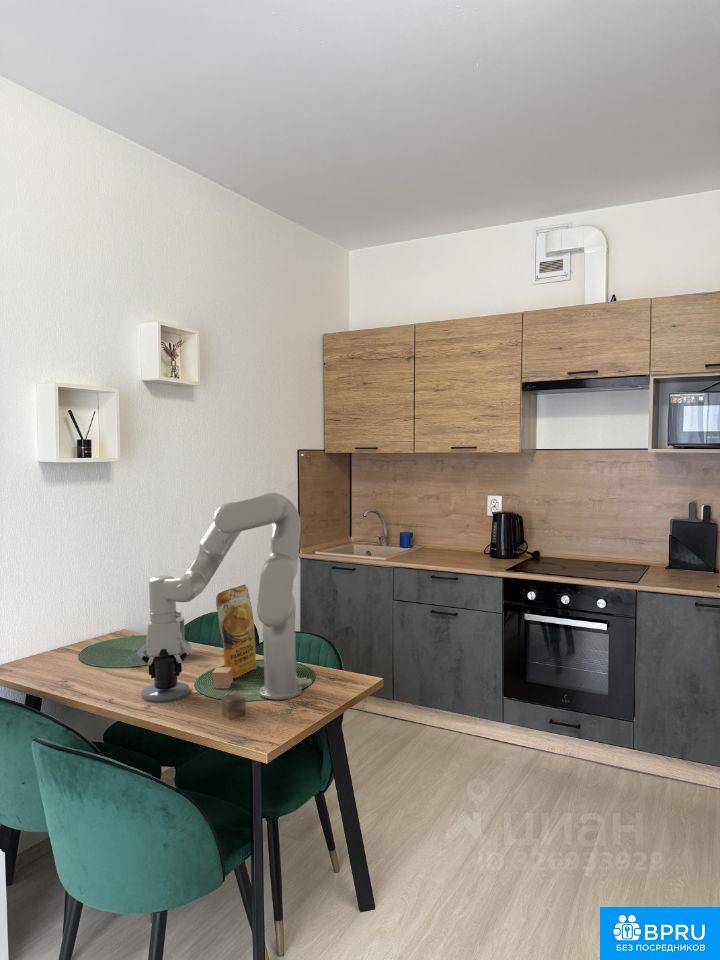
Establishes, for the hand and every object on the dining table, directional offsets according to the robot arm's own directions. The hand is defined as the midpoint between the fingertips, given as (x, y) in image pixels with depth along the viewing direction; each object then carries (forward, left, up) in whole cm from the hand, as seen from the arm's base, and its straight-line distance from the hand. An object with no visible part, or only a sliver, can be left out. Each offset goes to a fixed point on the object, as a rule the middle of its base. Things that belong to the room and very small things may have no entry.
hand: (165, 675), depth 205 cm
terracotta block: (-17, -3, -6) cm, 18 cm away
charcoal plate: (0, 0, -6) cm, 6 cm away
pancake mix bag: (-22, -14, -6) cm, 27 cm away
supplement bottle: (0, 0, -3) cm, 3 cm away
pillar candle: (+1, -38, -6) cm, 38 cm away
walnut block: (-20, +22, -6) cm, 30 cm away
